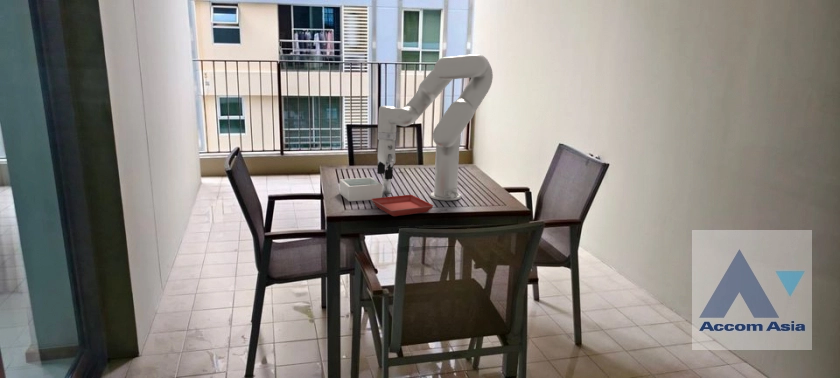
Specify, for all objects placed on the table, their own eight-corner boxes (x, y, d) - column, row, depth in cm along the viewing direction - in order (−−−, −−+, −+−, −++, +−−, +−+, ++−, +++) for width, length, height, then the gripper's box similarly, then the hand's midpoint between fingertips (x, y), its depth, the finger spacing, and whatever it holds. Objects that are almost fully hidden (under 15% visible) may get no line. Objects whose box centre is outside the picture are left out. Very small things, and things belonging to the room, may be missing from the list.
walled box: (382, 198, 232) (382, 184, 231) (348, 201, 227) (348, 186, 226) (371, 191, 245) (371, 177, 243) (339, 193, 239) (339, 179, 238)
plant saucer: (434, 213, 215) (434, 205, 214) (391, 219, 206) (391, 210, 205) (411, 202, 230) (411, 194, 229) (370, 207, 221) (370, 198, 220)
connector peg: (392, 193, 241) (392, 175, 239) (383, 194, 240) (384, 175, 238) (389, 191, 244) (389, 173, 243) (381, 192, 243) (381, 173, 241)
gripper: (402, 139, 230) (400, 180, 234) (388, 132, 246) (386, 171, 250) (384, 139, 227) (382, 181, 231) (371, 132, 243) (369, 172, 247)
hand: (384, 176), depth 241 cm, fingers open, 9 cm apart
